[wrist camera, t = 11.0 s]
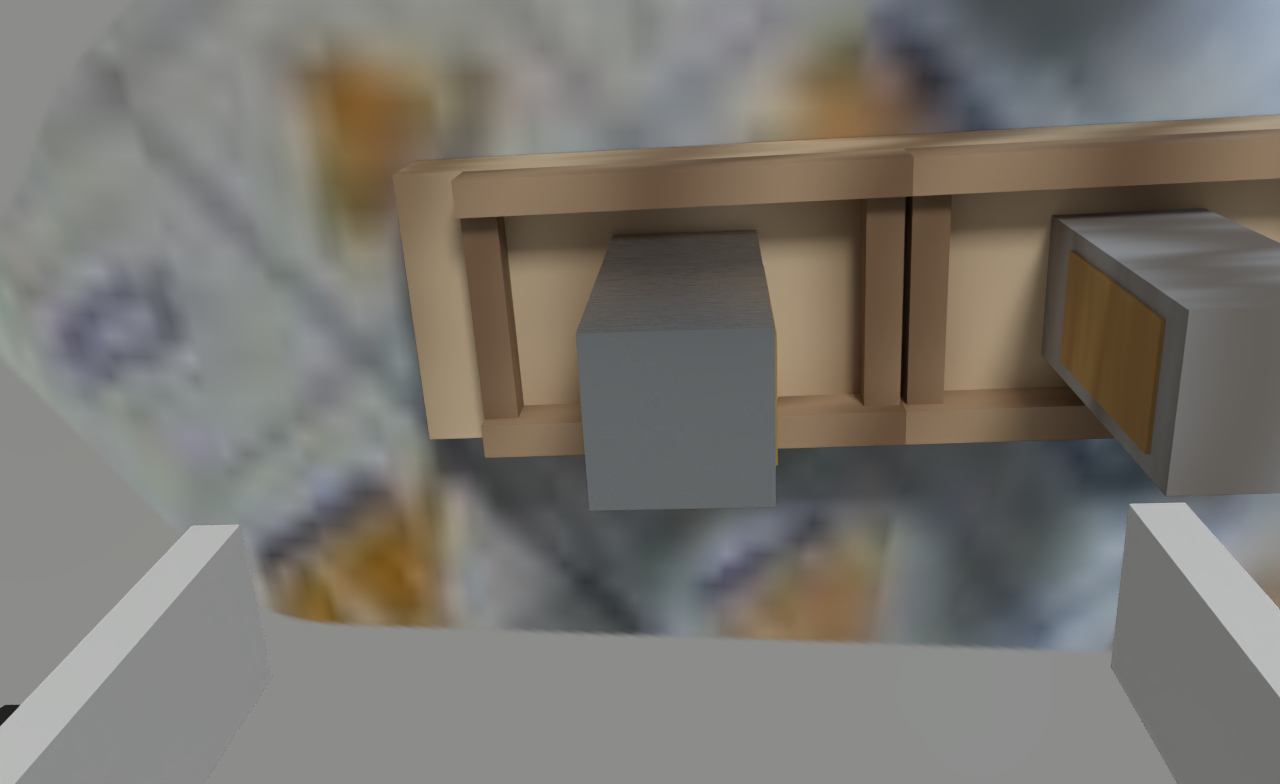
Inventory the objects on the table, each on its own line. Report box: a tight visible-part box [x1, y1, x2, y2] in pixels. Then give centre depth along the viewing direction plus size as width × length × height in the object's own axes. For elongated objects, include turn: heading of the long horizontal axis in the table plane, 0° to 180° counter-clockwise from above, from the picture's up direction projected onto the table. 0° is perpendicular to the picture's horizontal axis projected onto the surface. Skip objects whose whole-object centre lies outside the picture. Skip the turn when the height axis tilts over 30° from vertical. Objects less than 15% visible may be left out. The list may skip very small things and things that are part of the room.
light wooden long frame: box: [392, 115, 1280, 496], centre depth 27 cm, size 28×8×12 cm, turn 93°
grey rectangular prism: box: [576, 229, 778, 511], centre depth 27 cm, size 4×4×9 cm
